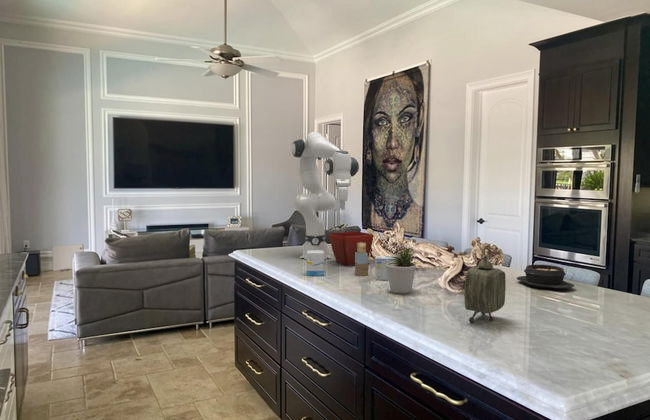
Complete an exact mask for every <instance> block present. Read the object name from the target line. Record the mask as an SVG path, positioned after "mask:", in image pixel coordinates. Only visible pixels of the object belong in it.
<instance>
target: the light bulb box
mask: <svg viewBox="0 0 650 420" xmlns="http://www.w3.org/2000/svg"><path fill="white" fill-rule="evenodd" d="M392 257H398V255H397V256H396V255H376V256H375V259H374V260H375V263H374V264H375V271H374V272H375V273H374V274H375V281H389V278H388V272H387V268H386V264H387V263H391V262H394V261H395V260H394V261H391V260H389V259H395V258H392ZM396 262H397V261H396Z"/></svg>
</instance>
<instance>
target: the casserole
mask: <svg viewBox="0 0 650 420" xmlns="http://www.w3.org/2000/svg"><path fill="white" fill-rule="evenodd" d="M523 272H524V273H525V275H521V276H517V277H516V279H517V280H518V281H521V282H523V283H524V284H527V285H528V286H531V287H534V288H538V289H539V288H540V289H548V290H549V289H550V290H551V289H553V290H554V289H570V288H573V287H575V284H573V283H570V282H567V281H565V276H566V274H567V273H566V272H565V270H564V268H562V267H560V266H556V265H551V264H550V265H549V264H530V265H529V264H528V265H526V267H525V269H524V270H523Z"/></svg>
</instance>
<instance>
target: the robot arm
mask: <svg viewBox="0 0 650 420" xmlns="http://www.w3.org/2000/svg"><path fill="white" fill-rule="evenodd" d="M290 150H291V153H292V156H293V157H294V158H298V159H299V162H298V163H299V167H298V169H299V175H300V179H301V185H302V188H303V189H305V190H307V191H309V192H310V193H307V192H306V193H300V194H297V195H296V197H295V198H294V200H293V201H294V203H293V204H294V208H295V209H296V210H297V211H298V212H299V213H300V215H302V217H303V218H304V222H305V237H304V239H305V242H304V243H303V244H302V255H300V256H299V259H301V258H304V259H303V260H307V251H311V250H322V251H324V260H327V258H329V259H332V255H330V254H329V245H328V243H327V242H326V239H327V238H326V233H325V227H326V226H325V221H324V220H323V219H322V218H320V217H318V215H317V212H327V211H331V210H333V209H334V208H335V206H336V203H337V201H336V197H335V196H334V195H333V194H332V193H330V192H329V191H328V190H327V189H326V188H325V187H324V185H323V183H322V181H321V179H320V177H321V176H320V174H319V169H318V166H317V160H319V161H320V160H321V159H326V161H325V162H324V169H323V170H324V172H325V173H326V174H327V175H328V176H331V177H333V187H335V189H336V190H337V200H338V201H339V208H340V209H341V211H344V210H345V209H346V202H348V195H349V187H350V186H351V185H352V177H354V176H356V175H357V173H358V172H359V169H360V165H359V162H358V160H357V159H356V158H355V157H352V156H351V154H350V152H349V151H347V150H343V149H341V148H340V147H338V146H337V145H335V144H333V143H332V142H330V140H328V139H327V138H326V137H325V136H324V135H323V134H321V133H320V132H318V131H311V132H309V133H308V135H306V139H302V138H299V139H296V140H294V141H293V142H292V143H291V149H290Z"/></svg>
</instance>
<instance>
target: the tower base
mask: <svg viewBox="0 0 650 420" xmlns="http://www.w3.org/2000/svg"><path fill="white" fill-rule="evenodd" d="M354 274H356V275H355V277H368V276H369V263H368V264H357V263H355V265H354Z"/></svg>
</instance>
